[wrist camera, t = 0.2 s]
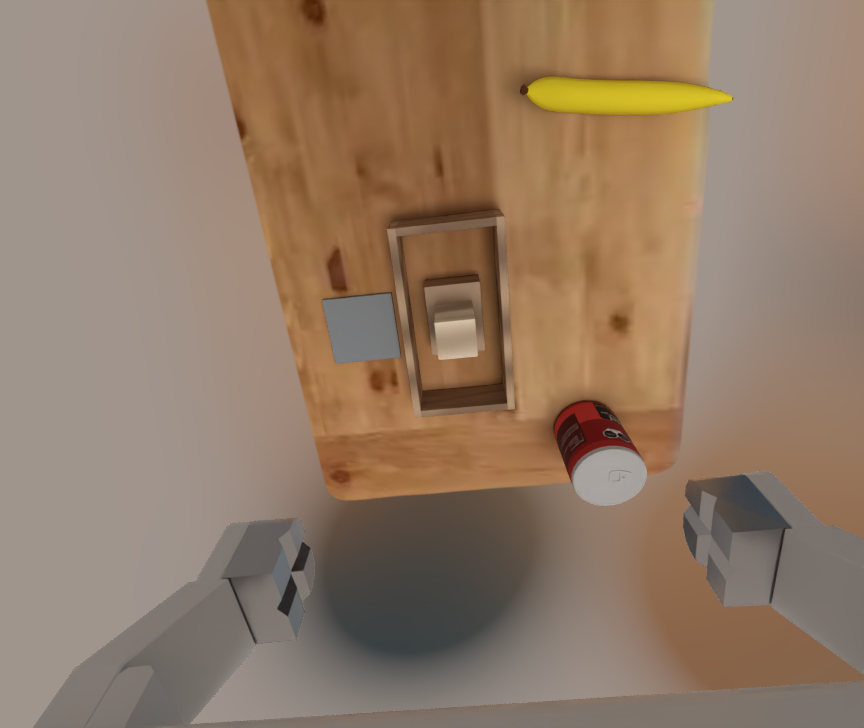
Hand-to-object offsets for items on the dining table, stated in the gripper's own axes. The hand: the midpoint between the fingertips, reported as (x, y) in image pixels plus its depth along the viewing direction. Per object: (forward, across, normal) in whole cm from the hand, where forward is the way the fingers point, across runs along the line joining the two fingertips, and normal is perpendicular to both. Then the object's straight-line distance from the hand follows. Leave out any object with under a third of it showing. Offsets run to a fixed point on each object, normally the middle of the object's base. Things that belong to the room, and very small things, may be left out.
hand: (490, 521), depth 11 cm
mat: (+47, +12, +12) cm, 50 cm away
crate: (+47, +1, +11) cm, 49 cm away
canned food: (+48, -13, +28) cm, 57 cm away
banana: (+48, -16, -9) cm, 51 cm away
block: (+44, +1, +11) cm, 46 cm away
